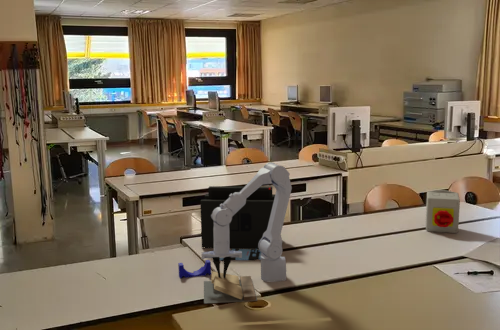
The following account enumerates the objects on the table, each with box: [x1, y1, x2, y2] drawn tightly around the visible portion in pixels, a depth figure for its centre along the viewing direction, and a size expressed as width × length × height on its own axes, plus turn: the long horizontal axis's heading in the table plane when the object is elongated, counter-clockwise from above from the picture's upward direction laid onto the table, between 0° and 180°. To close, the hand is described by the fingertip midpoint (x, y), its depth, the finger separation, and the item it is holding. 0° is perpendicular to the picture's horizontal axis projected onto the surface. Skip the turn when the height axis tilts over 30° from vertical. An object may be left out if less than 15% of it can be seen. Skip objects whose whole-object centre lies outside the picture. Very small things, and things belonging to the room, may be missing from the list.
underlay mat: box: [203, 279, 258, 304], centre depth 189 cm, size 18×20×1 cm
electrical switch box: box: [425, 189, 461, 234], centre depth 258 cm, size 15×15×20 cm
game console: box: [200, 185, 276, 261], centre depth 236 cm, size 35×30×27 cm
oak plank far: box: [210, 270, 240, 286], centre depth 194 cm, size 10×8×1 cm
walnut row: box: [239, 275, 257, 302], centre depth 190 cm, size 4×19×1 cm, turn 5°
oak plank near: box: [214, 276, 243, 299], centre depth 183 cm, size 10×8×1 cm
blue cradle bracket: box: [178, 259, 212, 279], centre depth 205 cm, size 12×4×6 cm, turn 106°
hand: (221, 276), depth 194 cm, fingers closed
